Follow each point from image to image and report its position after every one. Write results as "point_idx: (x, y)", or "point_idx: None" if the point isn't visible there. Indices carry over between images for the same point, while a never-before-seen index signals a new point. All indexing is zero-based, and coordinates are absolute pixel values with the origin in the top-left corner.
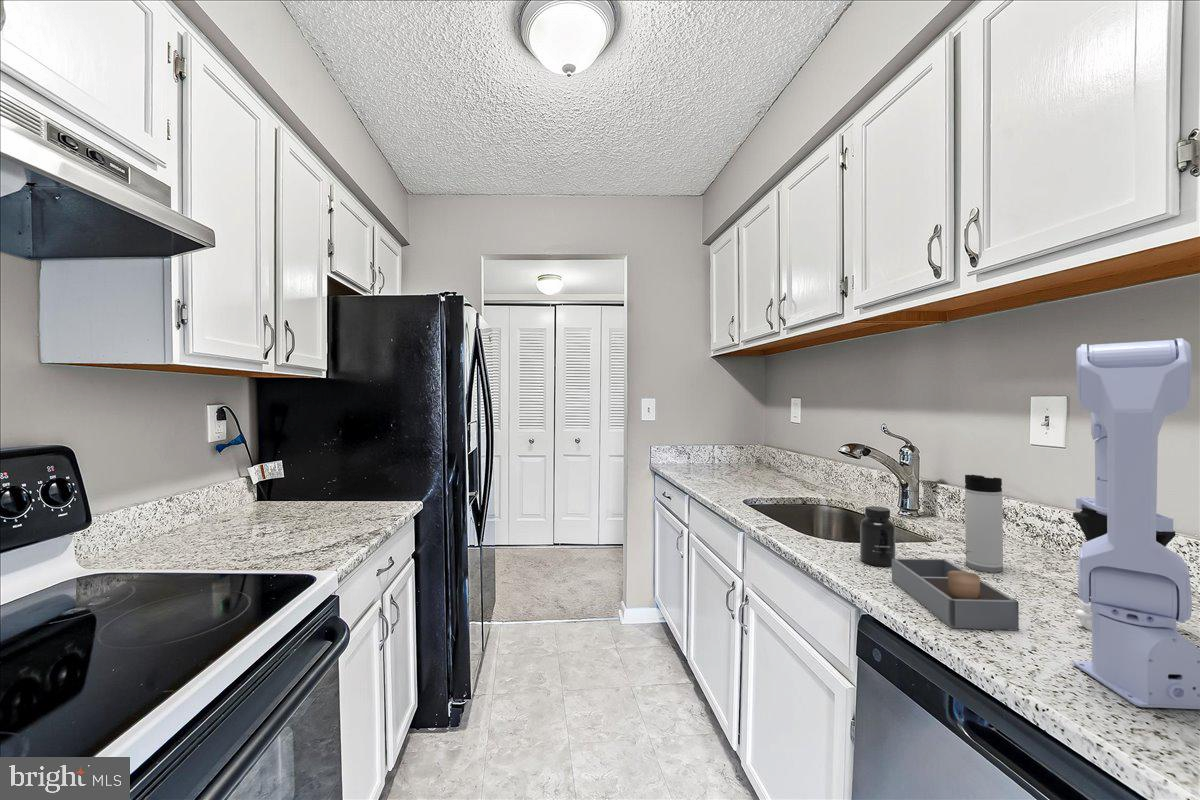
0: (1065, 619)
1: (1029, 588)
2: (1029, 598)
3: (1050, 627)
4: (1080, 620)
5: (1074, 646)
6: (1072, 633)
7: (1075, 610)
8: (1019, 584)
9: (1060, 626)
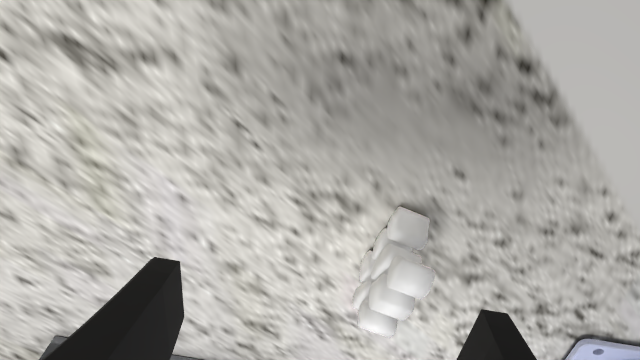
0: (317, 264)
1: (52, 168)
2: (156, 234)
3: (360, 328)
4: (360, 275)
5: None
6: None
7: (353, 307)
8: (14, 169)
9: None
